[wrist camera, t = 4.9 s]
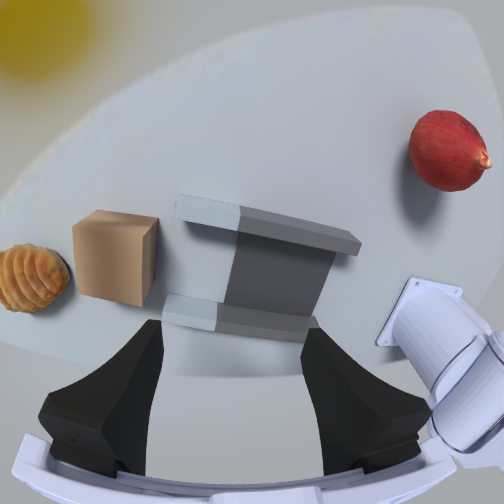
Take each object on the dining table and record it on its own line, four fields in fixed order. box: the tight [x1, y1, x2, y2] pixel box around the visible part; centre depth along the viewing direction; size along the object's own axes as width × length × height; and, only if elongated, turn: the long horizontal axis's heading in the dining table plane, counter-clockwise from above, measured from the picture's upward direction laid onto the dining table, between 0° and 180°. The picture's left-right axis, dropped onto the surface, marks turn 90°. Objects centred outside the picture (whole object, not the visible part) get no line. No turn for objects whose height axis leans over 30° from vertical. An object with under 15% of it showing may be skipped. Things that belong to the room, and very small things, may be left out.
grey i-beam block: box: [162, 194, 362, 343], centre depth 20 cm, size 12×9×2 cm
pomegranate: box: [409, 110, 492, 192], centre depth 14 cm, size 6×6×8 cm
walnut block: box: [72, 210, 158, 307], centre depth 17 cm, size 5×5×4 cm
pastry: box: [0, 243, 70, 313], centre depth 18 cm, size 9×7×4 cm
